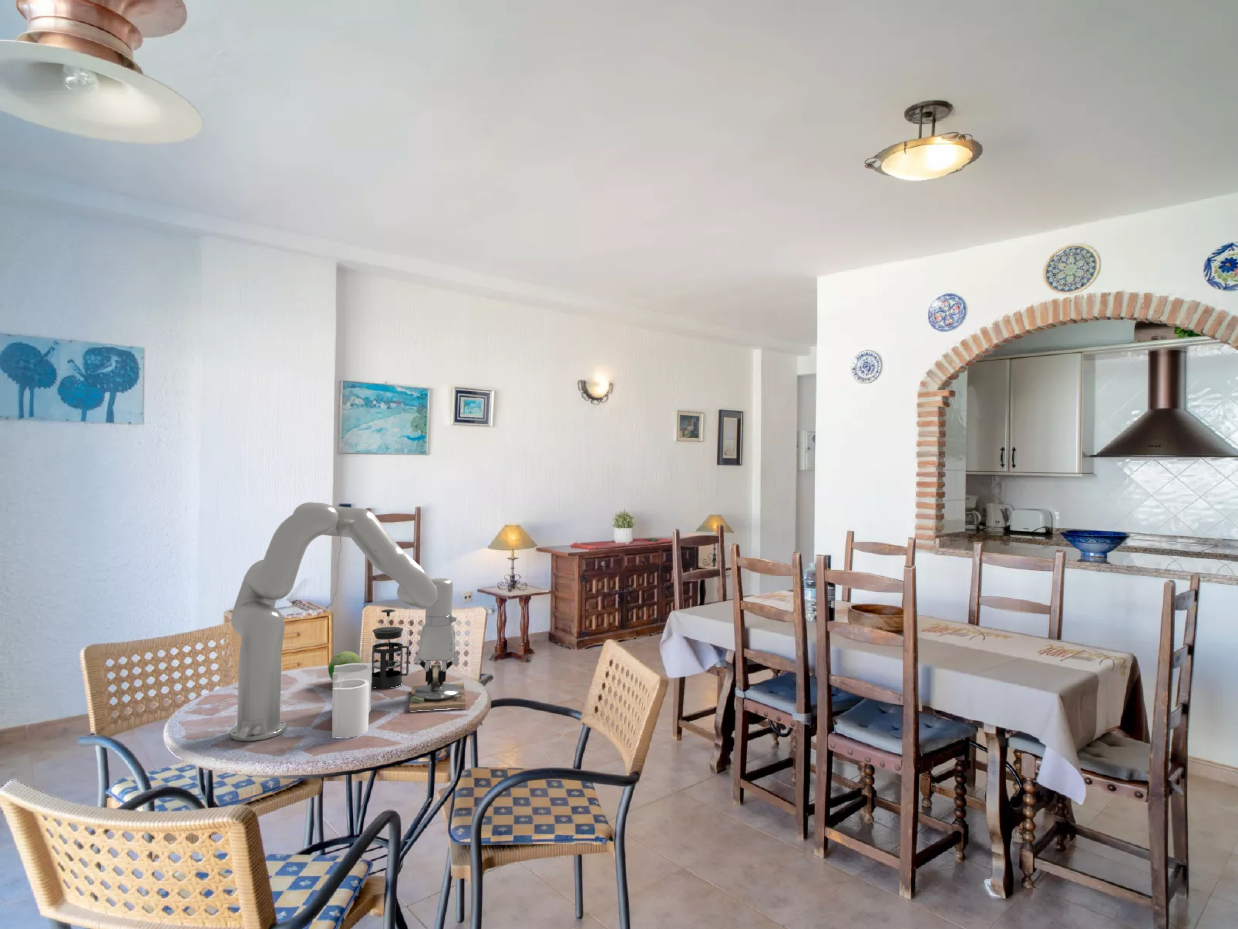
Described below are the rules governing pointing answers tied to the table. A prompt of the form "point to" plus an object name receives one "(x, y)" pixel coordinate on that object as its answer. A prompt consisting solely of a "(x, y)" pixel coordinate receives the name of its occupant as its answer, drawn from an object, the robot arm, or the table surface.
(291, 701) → the table surface
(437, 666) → the dial
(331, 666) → the decorative ball
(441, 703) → the dial board
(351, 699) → the white utensil holder
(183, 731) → the table surface
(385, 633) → the french press
